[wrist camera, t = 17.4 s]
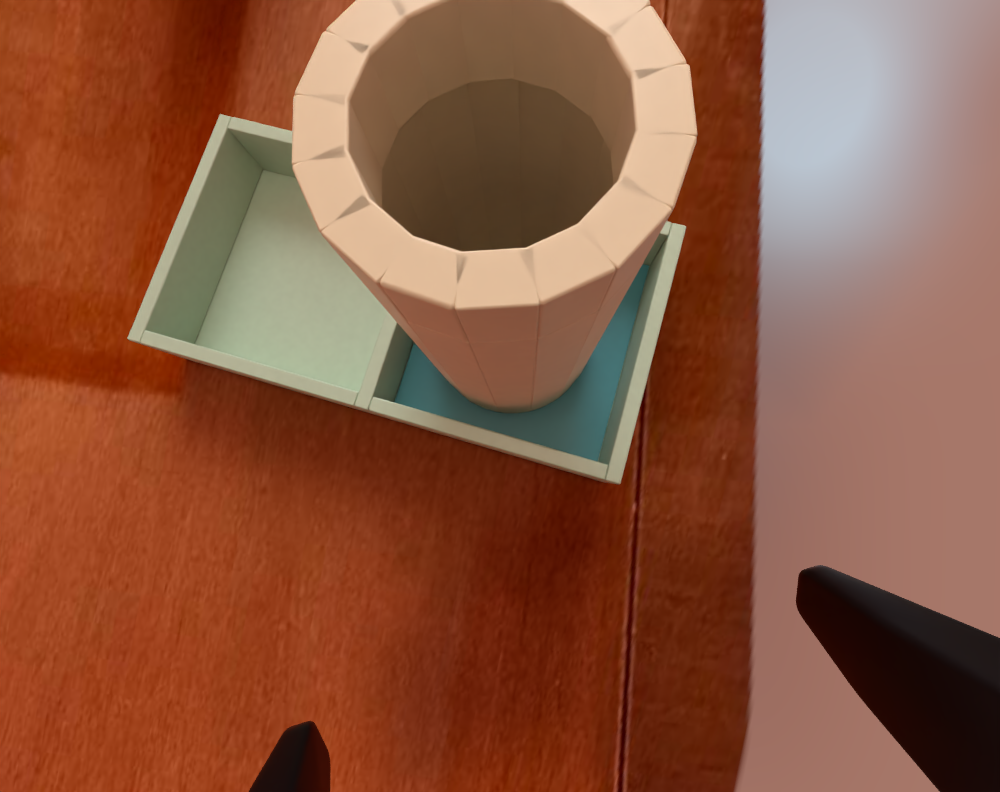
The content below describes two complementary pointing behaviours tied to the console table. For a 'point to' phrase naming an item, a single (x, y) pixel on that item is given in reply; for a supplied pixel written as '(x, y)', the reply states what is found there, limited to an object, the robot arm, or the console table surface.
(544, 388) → the jar
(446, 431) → the tray
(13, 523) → the console table surface
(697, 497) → the console table surface
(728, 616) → the console table surface
